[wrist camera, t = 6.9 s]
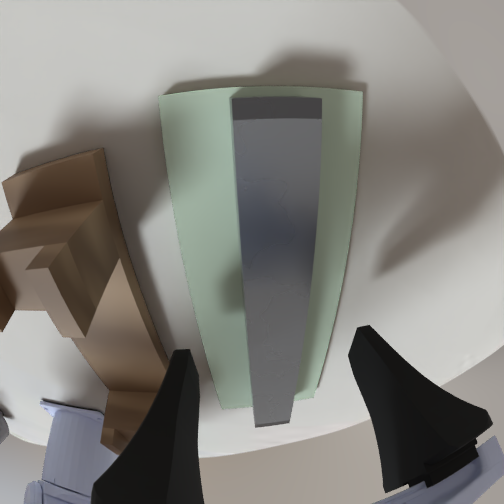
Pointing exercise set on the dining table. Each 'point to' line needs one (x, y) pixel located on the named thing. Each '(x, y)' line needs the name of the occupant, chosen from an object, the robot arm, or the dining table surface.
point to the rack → (82, 282)
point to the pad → (226, 231)
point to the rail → (276, 238)
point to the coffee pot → (3, 428)
